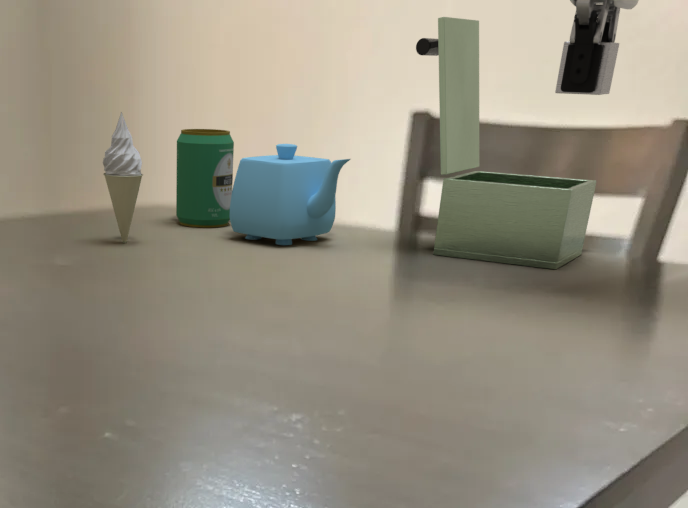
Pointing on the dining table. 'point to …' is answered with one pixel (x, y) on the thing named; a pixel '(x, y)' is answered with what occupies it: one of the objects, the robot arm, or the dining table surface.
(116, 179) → the ice cream cone
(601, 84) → the block
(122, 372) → the dining table surface
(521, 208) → the green open box
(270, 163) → the teapot
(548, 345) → the dining table surface
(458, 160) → the lid
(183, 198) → the beverage can
